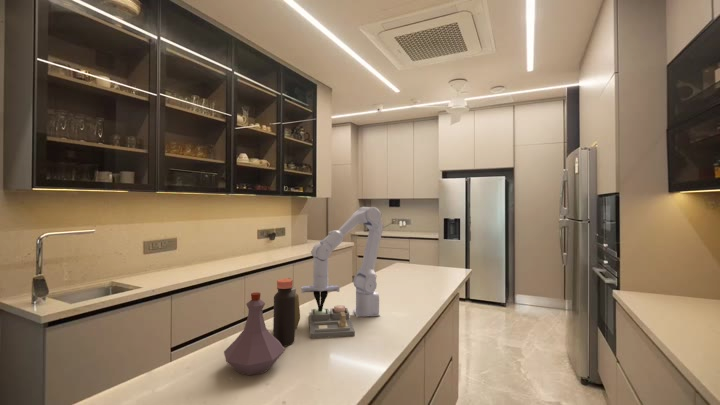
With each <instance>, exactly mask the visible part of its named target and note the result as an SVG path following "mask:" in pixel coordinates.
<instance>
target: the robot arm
mask: <svg viewBox="0 0 720 405" xmlns="http://www.w3.org/2000/svg"><path fill="white" fill-rule="evenodd" d="M382 215H383V214H382V213H381V210H379V208H378V207H375V206H361V207H358V209H357V210H356V211H354V212H353V214H352V215H351V216H350V217H349V218H348V219H347V220H346V221H345V222H344V223H343V224H342V225H341V226H340V228H338V230H337V229H335V230H330V231H328V235H326V236H325V237H324V238H323V239H320V241H319V243H316V244H315V245H314V246H312V250H311V251H310V254H311V255H312V257H313V265H312V269H313V271H312V272H313V273H312V274H313V275H312V285H305V286H301V291H300V293H301V294H305V293H313V296H314V299H315V302H316V304H317V309H318V311H322V309H324V304H325V302H326V299H327V297H328V292H329V293H330V292H336V293H339V292H340V285H333V284H331V285H329V259H330V258H331V255H332V252H333V251H334V250H335V249H336V248H337V247H338V246H340V244H341V243H342V242H344V236H346V235H347V234H348V233H349V232H350V231H352V230H354V228H355V227H357V226H358V225H362V224H363V225H364V226H365V227H366V228H367V229H368V235H367V240H366V244H365V247H364V253H363V258H362V262H361V267H360V268H359V269H358V270H357V272H356V275H355V276H354V278H353V282H352V283H353V285H354V287H355V309H353V313H354V315H355V317H358V318H359V317H360V318H363V317H380V294H379V292H378V291H376V289H377V286H378V285H377V277H378V276H377V273H376V272H375V267H376V263H377V258H378V253H379V248H380V244H381V240H382V239H381V238H382V233H383V229H384V226H383V222H382Z"/></svg>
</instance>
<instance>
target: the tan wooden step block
mask: <svg viewBox="0 0 720 405" xmlns="http://www.w3.org/2000/svg"><path fill="white" fill-rule="evenodd" d="M338 325H339V327H348V325H347V322H346V315H345V312H340V322H338Z"/></svg>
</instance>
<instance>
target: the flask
mask: <svg viewBox="0 0 720 405" xmlns="http://www.w3.org/2000/svg"><path fill="white" fill-rule="evenodd" d="M250 298H251V299H250V300H249V301H247V303H245V305H246V307H247V309H248V312H247V314H248V315H247V319H246V321H245V326H244V327H243V328H244V329H243V330H242V331H241V332H240V334H239V335H238V336H237V338H236V339H235V340H234V341H232V343H231V344H230V345H229V346H228V347H227V348H226V349H225V350H224V351H223V354H224V358H225V361H226V363H227V364H228V365H229V366H230V367H232V368H233V370H235V371H236V372H237V374H241V373H242V375H248V376H254V375H258V373H259V374H263V373H266V372H267V371H268V370H269V369H270V368H272V366H273V365H274V364H275V363H276V362H277V360H279V358H280V357H281V356H282V355H283V353H284V352H285V351H286V349H285V346H282V344H281V343H280V342H279V341H278V340H277V339H276V338H275V337H274V336H273V334H272V333H271V332H270V331H269V330H268V329H267V326H266V323H265V319H264V315H263V312H264V311H263V310H264V306H265V305H266V302H264V301H263V300H262V299H261V292H257V291H256V292H251V293H250ZM266 370H267V371H266ZM253 374H254V375H253Z"/></svg>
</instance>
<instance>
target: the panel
mask: <svg viewBox="0 0 720 405" xmlns="http://www.w3.org/2000/svg"><path fill="white" fill-rule="evenodd" d="M316 309H317V308H312V309H311V310H310V312H308V314H309V319H308V320H309V335H310V336H309V337H310V339H321V338H324V339H325V338H339V337H355V335H356V333H355V332H356V330H355V328H354V327H353V326H354V325H353V324H352V321H351V319H350V312H349V310H348V307H345V315H346V322H347V325H348V327H339V325H338V322H340V314H335V313H334V307H332V308H330V311H329V308H324V309H325V310H326V314H317V315H314V311H315V310H316Z"/></svg>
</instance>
